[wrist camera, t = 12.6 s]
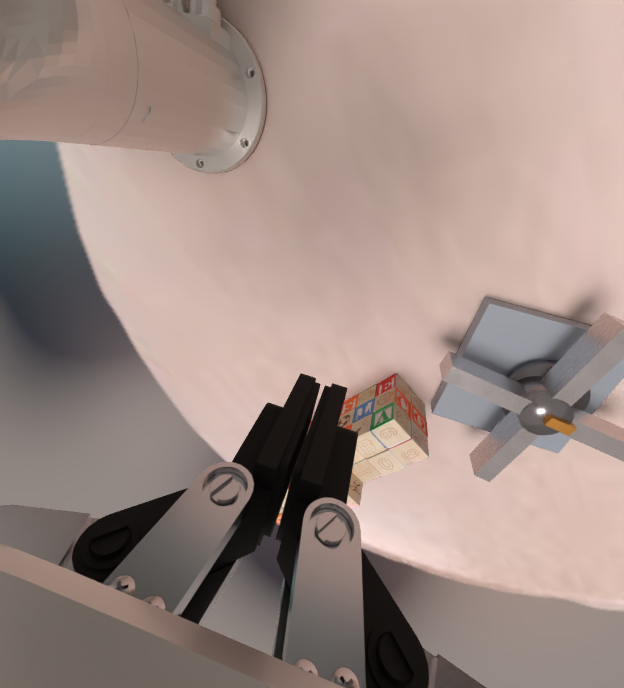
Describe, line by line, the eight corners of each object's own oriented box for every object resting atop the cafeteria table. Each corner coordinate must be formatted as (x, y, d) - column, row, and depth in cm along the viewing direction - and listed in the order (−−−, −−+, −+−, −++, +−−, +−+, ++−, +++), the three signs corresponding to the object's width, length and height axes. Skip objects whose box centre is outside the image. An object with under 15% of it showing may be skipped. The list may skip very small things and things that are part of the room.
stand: (485, 296, 34) (489, 304, 32) (638, 338, 32) (653, 348, 30) (430, 403, 41) (432, 414, 39) (552, 441, 40) (560, 455, 38)
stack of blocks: (396, 370, 41) (394, 439, 30) (425, 404, 42) (433, 482, 31) (283, 435, 51) (252, 504, 40) (309, 461, 52) (286, 534, 41)
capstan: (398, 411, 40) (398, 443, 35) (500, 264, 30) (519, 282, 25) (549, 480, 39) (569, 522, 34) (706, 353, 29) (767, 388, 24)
